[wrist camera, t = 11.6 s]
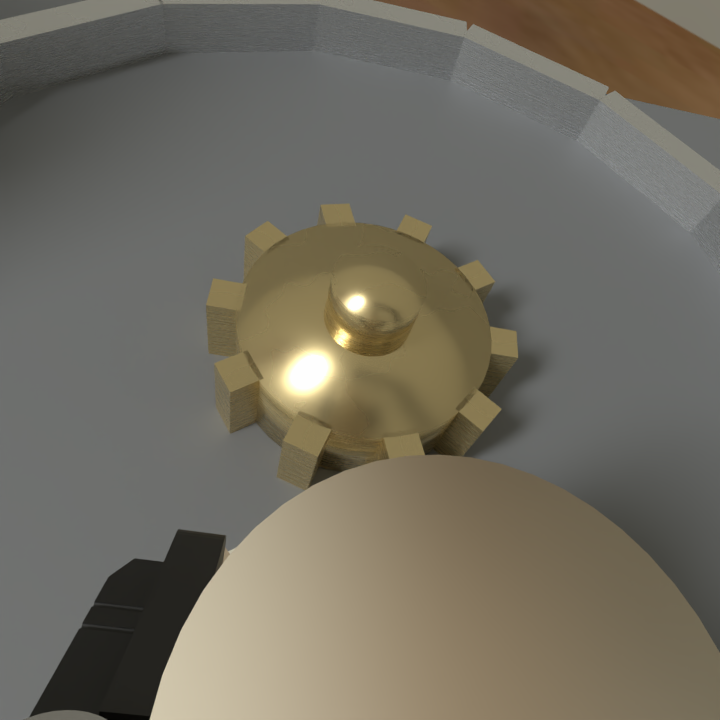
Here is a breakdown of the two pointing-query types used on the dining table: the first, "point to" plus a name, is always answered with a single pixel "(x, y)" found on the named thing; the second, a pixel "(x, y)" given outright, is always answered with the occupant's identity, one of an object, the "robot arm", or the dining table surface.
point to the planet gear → (440, 609)
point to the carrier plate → (226, 262)
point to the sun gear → (355, 345)
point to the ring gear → (382, 47)
